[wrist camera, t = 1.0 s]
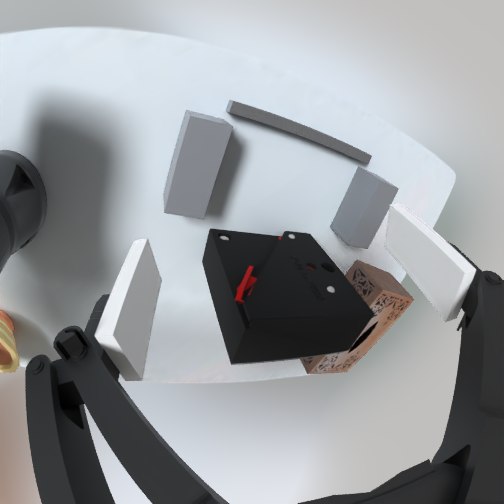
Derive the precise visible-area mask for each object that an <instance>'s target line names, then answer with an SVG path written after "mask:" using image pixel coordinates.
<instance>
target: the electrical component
mask: <svg viewBox="0 0 504 504" xmlns="http://www.w3.org/2000/svg"><path fill="white" fill-rule="evenodd" d="M202 262H203V267H204V270H205V274H206V278H207V282H208V285H209V289H210V293H211V296H212V300H213V304H214V307H215V311H216V314H217V318H218V321H219V325H220V328H221V332H222V335H223V339H224V342H225V346H226V349H227V352H228V356H229V359H230V362H231V365H244V364H252V363H264V362H274V361H284V360H293V359H301V358H308V357H316V356H323V355H326V356H331V354H335V353H342V352H345V351H348V350H349V349H350V348H351V347H352V345H353V344H354V342H355V341H356V340H357V338H358V337H359V336H360V334H361V333H362V331H363V330H364V329H365V327H366V326H367V324H368V323H369V321H370V320H371V318H372V317H373V316H374V312H373V311H372V310H371V309H370V307H369V306H368V305H367V303H366V302H365V301H364V299H363V298H362V297H361V296H360V294H359V293H358V292H357V291H356V289H355V288H354V287H353V286H352V284H351V283H350V282H349V281H348V279H347V278H346V277H345V276H344V274H343V273H342V272H341V271H340V269H339V268H338V267H337V266H336V265H335V263H334V262H333V261H332V260H331V258H330V257H329V256H328V255H327V254H326V252H325V251H324V250H323V249H322V248H321V246H320V245H319V244H318V243H317V242H316V241H315V239H314V238H313V237H312V236H311V235H310V234H307V233H299V232H290V231H285V232H284V234H283V236H282V237H280V236H272V235H263V234H255V233H246V232H237V231H228V230H219V229H210V231H209V235H208V239H207V243H206V247H205V251H204V256H203V260H202Z"/></svg>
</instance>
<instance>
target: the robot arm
mask: <svg viewBox="0 0 504 504" xmlns="http://www.w3.org/2000/svg"><path fill="white" fill-rule="evenodd" d="M45 213H46V194H45V189H44V185H43V182H42V180H41V178H40V176H39V174H38V172H37V170H36V169H35V167H34V166H33V165H32V164H31V163H30V162H29V161H28V160H27V159H26V158H25V157H23V156H22V155H20V154H18V153H16V152H13V151H8V150H1V151H0V273H1V271H2V269H3V268H4V266H5V264H6V262H7V260H8V259H9V257H10V255H12V254H13V253H15V252H16V251H18V250H19V249H21V248H22V247H24V246H26V245H27V244H28V243H29V242H30V241H31V240H32V239H33V238H34V237H35V235H36V234H37V232H38V230H39V229H40V227H41V225H42V223H43V221H44V217H45ZM384 247H385V248H386V249H387V250H388V251H389V252H390V254H391V255H392V256H393V257H394V258H395V259H396V261H397V262H398V263H399V264H400V265H401V266H402V268H403V269H404V270H405V271H406V272H407V274H408V275H409V276H410V277H411V278H412V279H413V281H414V282H415V283H416V285H417V286H418V287H419V288H420V290H421V291H422V292H423V293H424V295H425V296H426V297H427V298H428V300H429V301H430V302H431V304H432V305H433V306H434V308H435V309H436V310H437V311H438V313H439V314H440V316H441V317H442V318H443V320H444V321H445V322H447V321H450V320H453V319H455V318H457V316H458V314H459V312H460V309H461V308H462V309H463V311H464V312H465V313H464V316H463V318H462V320H461V322H460V324H459V326H458V328H457V331H459V329H460V328H461V327H462V334H461V346H460V355H459V364H458V371H457V378H456V384H455V390H454V396H453V401H452V406H451V410H450V415H449V419H448V423H447V428H446V431H445V435H444V439H443V442H442V444H441V447H440V448H439V450H438V451H437V453H436V454H435V456H434V458H433V460H432V462H431V463H430V460H429V459H428V460H426V461H424V462H422V463H420V464H418V465H416V466H413V467H411V468H409V469H407V470H405V471H402V472H400V473H399V474H397V475H396V476H395V477H393V478H391V479H390V480H388V481H387V482H385V483H384V484H382V485H380V486H379V487H377V488H376V489H374V490H372V491H371V492H367V493H357V494H345V495H332V496H328V497H324V498H321V499H316V500H311V501H306V502H302V503H298V504H504V280H502V279H501V277H500V276H499V275H497V274H496V273H494V272H492V271H483V272H482V271H481V270H480V269H479V268H478V267H477V266H476V265H475V264H474V263H473V262H472V261H471V260H469V258H468V257H466V255H464V253H461V251H460V250H459V249H458V248H457V247H456V246H455V245H453V244H451V243H449V242H447V241H445V240H444V239H443V238H442V237H441V236H440V235H438V234H437V233H436V232H435V231H434V230H433V229H432V228H430V227H429V226H428V225H427V224H426V223H424V222H423V221H422V220H421V219H420V218H418V217H417V216H416V215H415V214H413V213H412V212H411V211H410V210H408V209H407V208H406V207H405V206H403V205H402V204H401V203H399V204H390V207H389V216H388V224H387V232H386V239H385V246H384ZM161 282H162V280H161V277H160V274H159V271H158V268H157V265H156V262H155V259H154V256H153V253H152V250H151V247H150V244H149V240H148V238H144V239H139V240H134V242H133V244H132V246H131V248H130V251H129V253H128V255H127V257H126V259H125V261H124V264H123V266H122V268H121V270H120V273H119V275H118V277H117V280H116V282H115V284H114V287H113V289H112V292H111V294H107V295H103V296H102V297H101V298H100V299H99V300H98V301H97V303H96V305H95V307H94V309H93V313H92V314H91V316H90V320H89V321H88V324H87V326H86V329H85V331H84V332H83V331H82V329H81V328H80V327H78V326H69V327H67V328H65V329H63V330H62V331H61V332H59V333H58V335H57V336H56V338H55V340H54V348H55V350H56V351H57V352H58V354H59V355H60V356H61V358H62V359H60V360H56V361H53V362H51V361H50V359H49V358H48V357H47V356H46V355H38V356H36V357H34V358H33V359H32V360H31V361H30V362H29V363H28V365H27V367H26V411H27V424H28V434H29V442H30V449H31V456H32V462H33V468H34V473H35V477H36V482H37V486H38V490H39V495H40V498H41V502H42V504H115V502H114V499H113V497H112V494H111V492H110V490H109V487H108V484H107V482H106V479H105V476H104V474H103V471H102V468H101V465H100V462H99V459H98V456H97V453H96V450H95V446H94V443H93V440H92V436H91V433H90V429H89V425H88V421H87V417H86V413H85V409H84V404H85V405H86V407H87V409H88V410H89V412H90V414H91V416H92V418H93V419H94V421H95V423H96V425H97V426H98V428H99V430H100V431H101V433H102V435H103V436H104V438H105V440H106V441H107V443H108V444H109V446H110V448H111V449H112V451H113V452H114V453H115V455H116V456H117V458H118V460H119V461H120V462H121V464H122V465H123V467H124V468H125V469H126V471H127V472H128V474H129V475H130V476H131V478H132V479H133V480H134V481H135V483H136V484H137V485H138V487H139V488H140V489H141V490H142V492H143V493H144V494H145V495H146V497H147V498H148V499H149V500H150V501H151V502H152V504H229V503H228V502H227V501H226V500H224V499H223V498H222V497H221V496H220V495H219V494H217V493H216V492H215V491H214V490H213V489H212V488H211V487H210V486H209V485H207V484H206V483H205V482H204V481H203V480H202V479H201V478H200V477H199V476H198V475H197V474H196V473H195V472H194V471H193V470H192V469H191V468H190V467H189V466H188V465H187V464H186V463H185V462H184V461H183V460H182V459H181V458H180V457H179V456H178V455H177V454H176V453H175V451H174V450H173V449H172V448H171V447H170V446H169V445H168V444H167V443H166V441H165V440H164V439H163V438H162V437H161V436H160V435H159V433H158V432H157V431H156V430H155V429H154V428H153V426H152V425H151V424H150V423H149V421H148V420H147V419H146V418H145V416H144V415H143V414H142V413H141V411H140V410H139V409H138V407H137V406H136V405H135V403H134V402H133V401H132V399H131V398H130V397H129V395H128V394H127V393H126V391H125V390H124V388H123V387H122V386H121V384H120V383H119V382H118V378H119V374H121V375H122V377H123V378H124V379H125V381H140V380H142V379H143V373H144V367H145V361H146V355H147V349H148V344H149V339H150V333H151V328H152V323H153V318H154V314H155V309H156V304H157V300H158V295H159V291H160V286H161Z"/></svg>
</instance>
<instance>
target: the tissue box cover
mask: <svg viewBox="0 0 504 504" xmlns="http://www.w3.org/2000/svg"><path fill="white" fill-rule="evenodd" d="M345 277H346V278H347V279H348V281H349V282H350V283H351V284H352V286H353V287H354V288H355V289H356V291H357V292H358V293H359V294H360V296H361V297H362V298H363V299H364V301H365V302H366V303H367V305H368V306H369V307H370V309H371V310H372V311H373V312H374V316H373V317H372V318H371V320H370V321H369V323H368V324H367V326H366V327H365V329H364V330H363V331H362V333H361V334H360V336H359V337H358V338H357V340H356V341H355V342H354V344H353V345H352V347H351V348H350V349H349V350H348V351H345V352H342V353H335V354H331V356H326V355H323V356H316V357H308V358H301V359H300V360H301V362H302V364H303V366H304V368H305V370H306V372H307V374H317V373H339V372H347V371H348V370H349V369H351V367H352V366H354V365H355V364H356V363H357V362H358V361H359V360H360V359H361V358H362V357H363V356H364V355H365V354H366V353H367V352H368V351H369V350H370V349H371V348H372V346H373V345H374V344H375V343H376V342H377V341H378V340H379V339H380V338H381V337H382V336H383V335H384V334H385V333H386V331H387V330H388V329H389V328H390V327H391V326H392V325H393V324H394V322H395V321H396V320H397V319H398V318H399V317H400V316H401V314H402V313H403V312H404V311H405V310H406V309H407V307H408V306H409V305H410V304H411V303H412V301H413V300H414V299H413V298H412V296H410V294H409V293H408V292H407V291H406V290H405V289H404V288H403V287H402V285H401V284H400V283H399V282H398V281H397V280H396V279H395V278H394V277H393V276H392V275H391V274H390V273H388V272H385V271H383V270H380V269H378V268H376V267H373V266H371V265H368V264H366V263H363V262H361V261H358V260H356V261H355V263H354V264H353V265H352V267H351V268H350V270H349V271H348V272H347V274H346V275H345Z"/></svg>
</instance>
